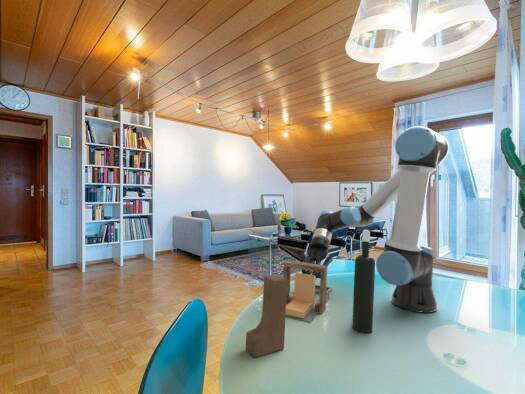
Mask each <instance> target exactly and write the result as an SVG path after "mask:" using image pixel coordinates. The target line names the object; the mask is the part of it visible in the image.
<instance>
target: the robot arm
mask: <svg viewBox="0 0 525 394" xmlns="http://www.w3.org/2000/svg"><path fill="white" fill-rule="evenodd" d="M449 145H450V144H449V142H448V140H447V138H446V137H445V136H444V135H442V134H441V133H438V132H436V131H434V130H433V129H431V128H429V127H427V126H422V125H417V126H416V125H415V126H411V127H409V128H406V129H405V130H404V131H403V132H401V133H400V134H399V136H398V137H397V139H396V141H395V145H394V148H395V153H396V155H397V156H398V162H397V163H398V164H397V167H398V170H397V171H396V172H395V173H394V174H392V176H391V177H390V178H389V179H388V180H386V182H384V183H383V184H382V185H381V186H380V187H379V188H378V189H377V190H376V191H375V192H374V193H372V195H371V196H370V197H369V198H368V199H367V200H365V201H364V202H363V203H362V204H361V205H360V206H359V207H358V208H356V206H352V205H351V206H348V207H345V208H343V209H340V210H337V211H332V210H323V211H322V212H320V214H319V216H318V218H317V221H316V226H315V228H314V232H313V235H312V238H311V242H310V244H309V248H308V249H307V250H306V251H305V252H304V251H300V252H301V253H300V254H301V262H304V263H307V258H308V257H309V261H308V263H310V264H317V265H324V266H327V268H328V267H329V265H330V264H331V263H332V262H333V257H332V255H329V248H330V244H331V240H332V237H333V234H334V232H335V231H338V230H342V229H346V228H356V227H359V228H365V227H369V226H371V225H372V224H373V223H374V222H375V218H376V217H377V216H378V215H380V213H381V212H383V211H384V210H385V209H386V208H387V207H389V206H390V205H391V204H392V203H393V202H394V201H395V200H396V204H395V209H394V215H393V220H392V221H393V222H392V227H391V234H390V238H388V239H387V240H386V241H385V242H384V245H383V251H382V252H381V253H380V254H379V255H378V256H377V258H376V261H375V269H376V271H377V273H378V274H379V276H380V278H381V279H382V280H383V281H384V282H386V283H387V284H389V285H393V286H395V287H394V290H393V292H392V295H391V302H393V303H394V304H393V303H392V304H393V305H395V304H396V305H397V306H396V305H395V306H396V307H398V306H399V307H398V308H401V307H402V308H401V309H403V308H404V309H403V310H406V309H407V310H406V311H410V310H412V312H415V311H422V312H430V311H434V310H436V309H438V307H437V306H438V304H437V299H436V297H435V295H434V294H435V293H434V291H433V273H434V271H433V270H434V258H435V256H434V249H433V248H432V247H428V246H424V245H423V246H421V245H419V236H420V232H421V231H420V230H421V226H422V220H423V215H424V209H425V203H426V202H425V201H426V197H427V192H428V185H429V180H430V175H431V174H432V173H433V172H435V171H436V170H437V168H438V166H440V165H441V164H442V162H443V163H444V160H445V159H446V158H447V156H448V154H449V151H450V150H449V149H450V146H449ZM322 261H323V263H322ZM301 273H302V274H308V275H314V276H316V280H317V279H319V280H320V277H321V272H317V271H311V270H304V269H301ZM436 311H437V310H436ZM422 312H421V313H422Z"/></svg>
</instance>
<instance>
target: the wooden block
mask: <svg viewBox="0 0 525 394" xmlns="http://www.w3.org/2000/svg"><path fill="white" fill-rule="evenodd" d="M262 293H263V294H262V313H261V314H262V315H261V318H260V321H259V323H257V325H256V327H255V328H252V329H251V330H249V331H246V333H245V334H246V335H245V350H246V352H248V353H249V355H251V356H252V358H260V357H262V356H264V355H269V354H272V353H275V352H279V351H281V350H284V348H285V336H286V335H285V334H286V333H285V332H286V317H285V315H286V293H287V279H286V278H284V277H283V276H281V275H280V274H274V275H273V274H272V275H266V276H264V277H263V292H262Z"/></svg>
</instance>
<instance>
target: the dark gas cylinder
mask: <svg viewBox="0 0 525 394" xmlns="http://www.w3.org/2000/svg"><path fill="white" fill-rule="evenodd" d="M361 236H362V237H361V243H362V245H361V254H360V255H358V256H356V257H355V259H354V277H353V279H354V280H353V298H352V299H353V300H352V302H353V303H352V321H351V322H352V323H351V328H352V330H353V331H355V332H357V333H359V334H363V335H368V334H372V333H373V322H374V321H373V320H374V303H375V301H374V299H375V298H374V297H375V296H374V295H375V277H376V275H375V274H376V261H375V259H374V258H373V257H372V256H371V255H369V254H370V240H371V238H370V237H371V232H370V229H363V231H362V235H361Z"/></svg>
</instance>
